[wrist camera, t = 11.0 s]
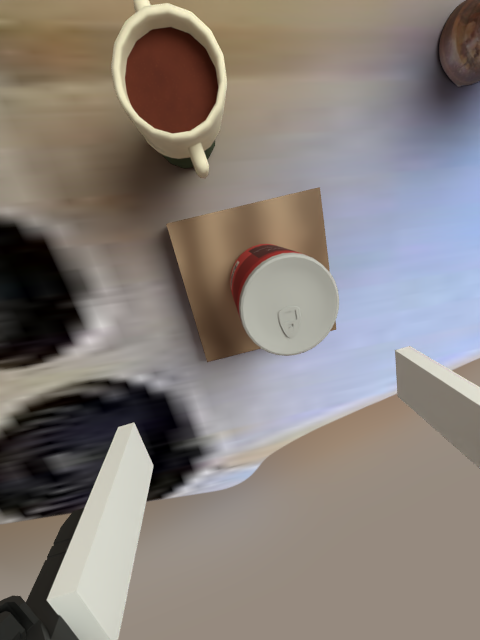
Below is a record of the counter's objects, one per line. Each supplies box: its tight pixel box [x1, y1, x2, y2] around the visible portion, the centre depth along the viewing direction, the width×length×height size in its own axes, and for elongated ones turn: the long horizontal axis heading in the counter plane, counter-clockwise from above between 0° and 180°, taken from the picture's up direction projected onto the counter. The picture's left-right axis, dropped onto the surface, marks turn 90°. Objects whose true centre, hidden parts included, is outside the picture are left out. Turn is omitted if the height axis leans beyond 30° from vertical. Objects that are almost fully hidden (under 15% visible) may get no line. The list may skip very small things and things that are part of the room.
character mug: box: [111, 0, 227, 178], centre depth 24 cm, size 11×7×13 cm, turn 21°
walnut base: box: [166, 187, 336, 362], centre depth 34 cm, size 16×16×4 cm
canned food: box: [230, 244, 339, 356], centre depth 26 cm, size 8×8×11 cm
